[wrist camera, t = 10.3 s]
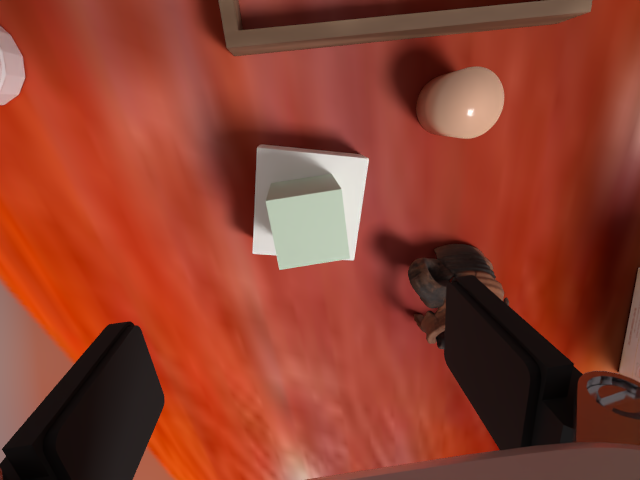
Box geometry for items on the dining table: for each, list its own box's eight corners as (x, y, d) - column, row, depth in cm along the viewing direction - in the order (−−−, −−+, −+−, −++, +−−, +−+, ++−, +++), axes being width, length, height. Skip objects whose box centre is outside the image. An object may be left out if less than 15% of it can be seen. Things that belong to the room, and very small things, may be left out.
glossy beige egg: (415, 77, 29) (439, 70, 25) (472, 71, 29) (506, 63, 25) (416, 138, 31) (438, 141, 26) (469, 132, 31) (501, 134, 26)
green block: (270, 183, 28) (265, 200, 22) (331, 173, 28) (341, 189, 22) (282, 240, 29) (279, 269, 24) (338, 231, 30) (349, 258, 24)
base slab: (261, 143, 30) (256, 147, 27) (359, 153, 31) (368, 158, 28) (257, 238, 33) (252, 253, 30) (347, 244, 34) (354, 260, 31)
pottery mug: (506, 257, 36) (540, 330, 31) (436, 295, 42) (454, 361, 37) (433, 213, 31) (460, 292, 26) (363, 263, 37) (373, 336, 31)
